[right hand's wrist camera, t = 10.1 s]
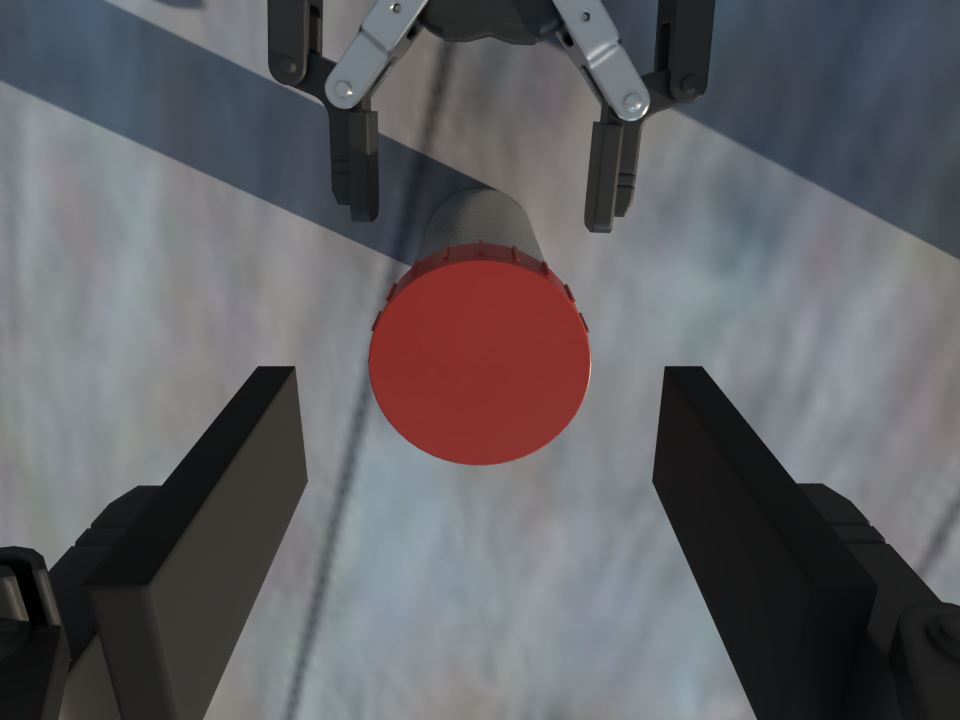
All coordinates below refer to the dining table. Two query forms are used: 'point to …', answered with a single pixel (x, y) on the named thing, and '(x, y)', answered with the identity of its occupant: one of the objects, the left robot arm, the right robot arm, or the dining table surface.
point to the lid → (480, 355)
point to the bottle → (480, 223)
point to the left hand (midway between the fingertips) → (482, 224)
